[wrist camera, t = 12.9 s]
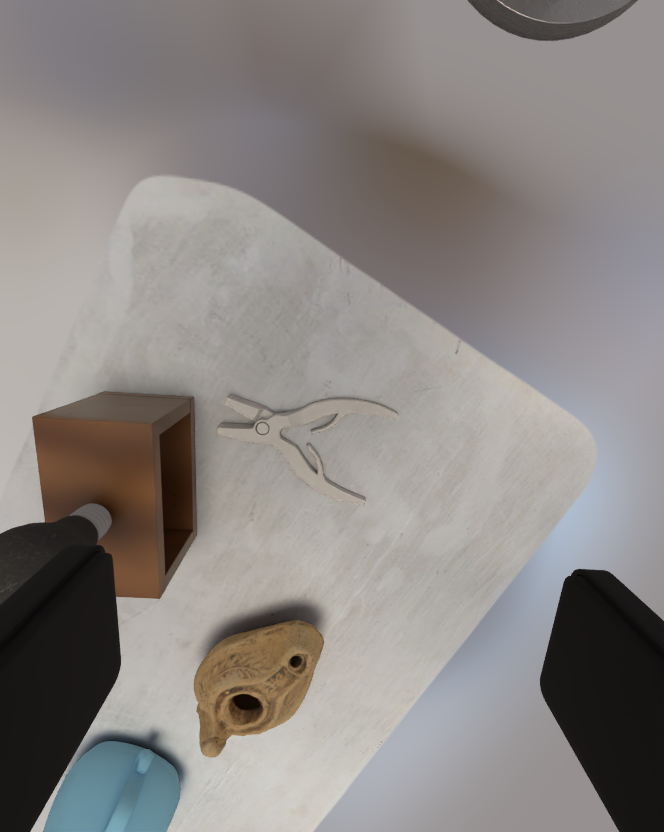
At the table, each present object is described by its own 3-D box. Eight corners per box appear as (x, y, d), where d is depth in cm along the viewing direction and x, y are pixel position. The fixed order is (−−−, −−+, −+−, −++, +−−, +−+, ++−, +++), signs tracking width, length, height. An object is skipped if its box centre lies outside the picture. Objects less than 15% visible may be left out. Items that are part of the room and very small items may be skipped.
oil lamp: (346, 620, 42) (350, 690, 34) (271, 713, 45) (260, 797, 37) (257, 571, 40) (241, 632, 33) (185, 671, 43) (155, 749, 36)
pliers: (364, 511, 37) (206, 466, 36) (362, 504, 39) (211, 460, 37) (401, 414, 35) (234, 361, 33) (397, 410, 36) (238, 359, 35)
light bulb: (46, 520, 29) (-96, 625, 19) (85, 462, 28) (-46, 542, 18) (115, 561, 30) (12, 682, 20) (154, 506, 29) (66, 606, 19)
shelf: (103, 391, 35) (31, 416, 27) (194, 396, 36) (151, 423, 27) (114, 531, 39) (53, 594, 30) (196, 535, 39) (160, 598, 30)
